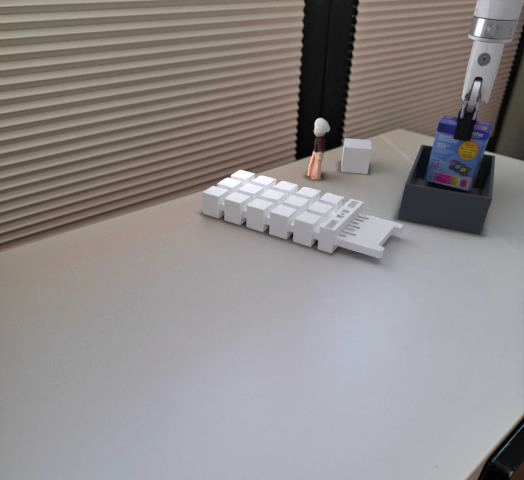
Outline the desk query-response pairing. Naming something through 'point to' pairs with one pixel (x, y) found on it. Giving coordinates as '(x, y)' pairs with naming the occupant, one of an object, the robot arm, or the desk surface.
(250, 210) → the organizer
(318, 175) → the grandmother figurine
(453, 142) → the ink cartridge box
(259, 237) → the desk surface
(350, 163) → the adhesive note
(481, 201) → the bin
